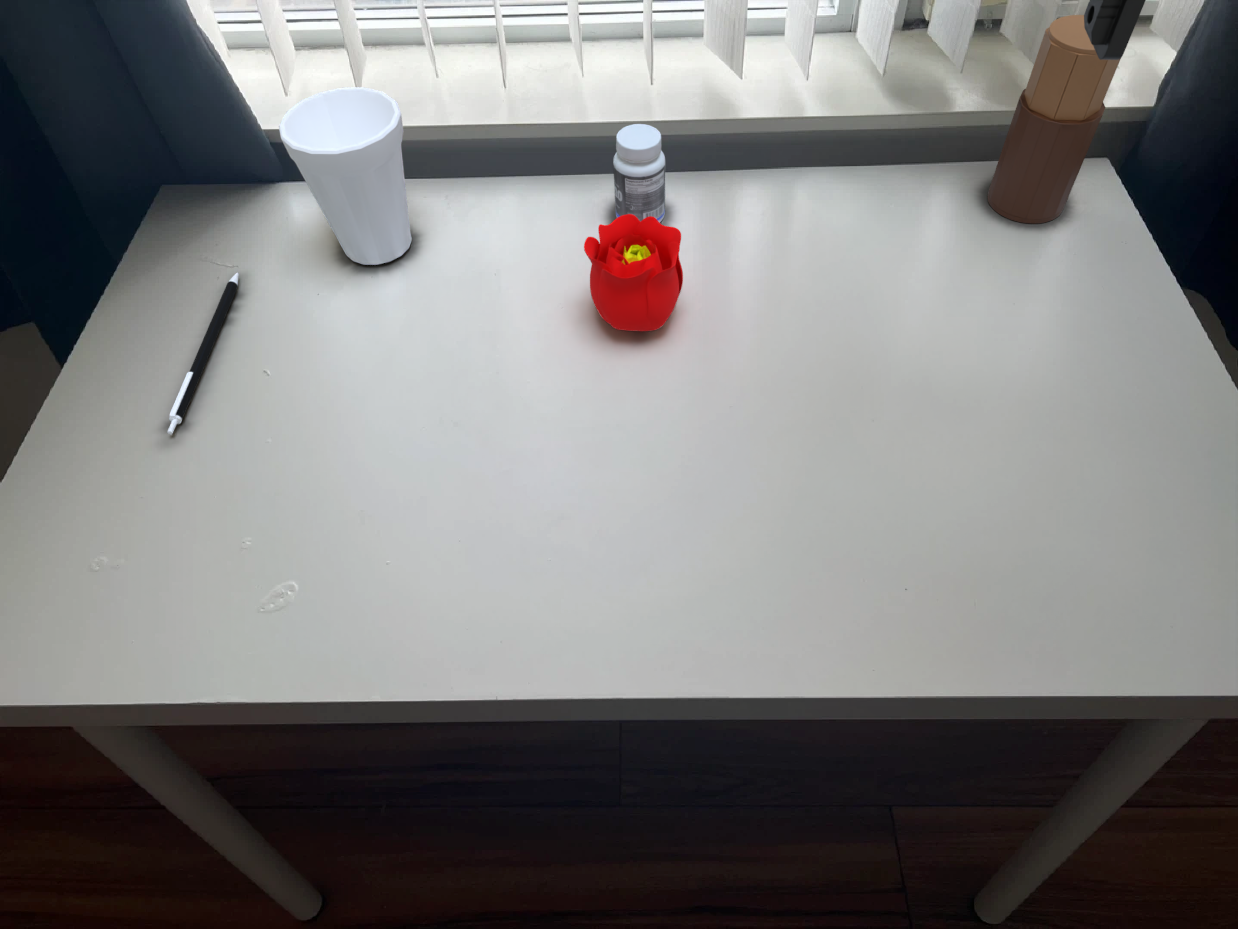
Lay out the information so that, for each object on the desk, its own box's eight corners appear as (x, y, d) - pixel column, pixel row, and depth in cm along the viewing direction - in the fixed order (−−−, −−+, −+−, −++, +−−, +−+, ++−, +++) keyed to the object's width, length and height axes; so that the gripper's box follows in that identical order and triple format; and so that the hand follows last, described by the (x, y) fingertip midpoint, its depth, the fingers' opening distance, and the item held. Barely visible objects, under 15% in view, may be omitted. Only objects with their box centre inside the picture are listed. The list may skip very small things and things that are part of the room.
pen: (166, 436, 70) (160, 427, 69) (234, 276, 82) (230, 266, 81) (177, 436, 70) (171, 427, 69) (244, 276, 82) (239, 266, 81)
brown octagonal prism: (1089, 84, 78) (1116, 14, 73) (1104, 121, 74) (1134, 50, 70) (1020, 83, 78) (1043, 14, 74) (1032, 119, 75) (1057, 49, 70)
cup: (346, 296, 80) (299, 166, 69) (311, 236, 85) (262, 108, 75) (449, 256, 82) (419, 126, 72) (409, 201, 88) (375, 73, 78)
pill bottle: (616, 200, 87) (612, 120, 80) (665, 200, 87) (665, 120, 80) (614, 231, 84) (610, 151, 77) (665, 230, 84) (665, 150, 77)
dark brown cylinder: (1055, 181, 86) (1112, 36, 75) (1070, 224, 82) (1133, 78, 71) (982, 179, 87) (1028, 35, 76) (993, 222, 82) (1044, 76, 72)
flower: (576, 306, 78) (568, 230, 71) (652, 274, 80) (652, 198, 73) (621, 361, 73) (617, 285, 67) (700, 326, 75) (704, 250, 69)
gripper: (1272, -519, 22) (1049, 98, 35) (1924, -547, 21) (1444, 106, 34) (1186, -547, 27) (1016, 8, 39) (1715, -571, 25) (1363, 11, 38)
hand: (1213, 52), depth 36 cm, fingers open, 8 cm apart
